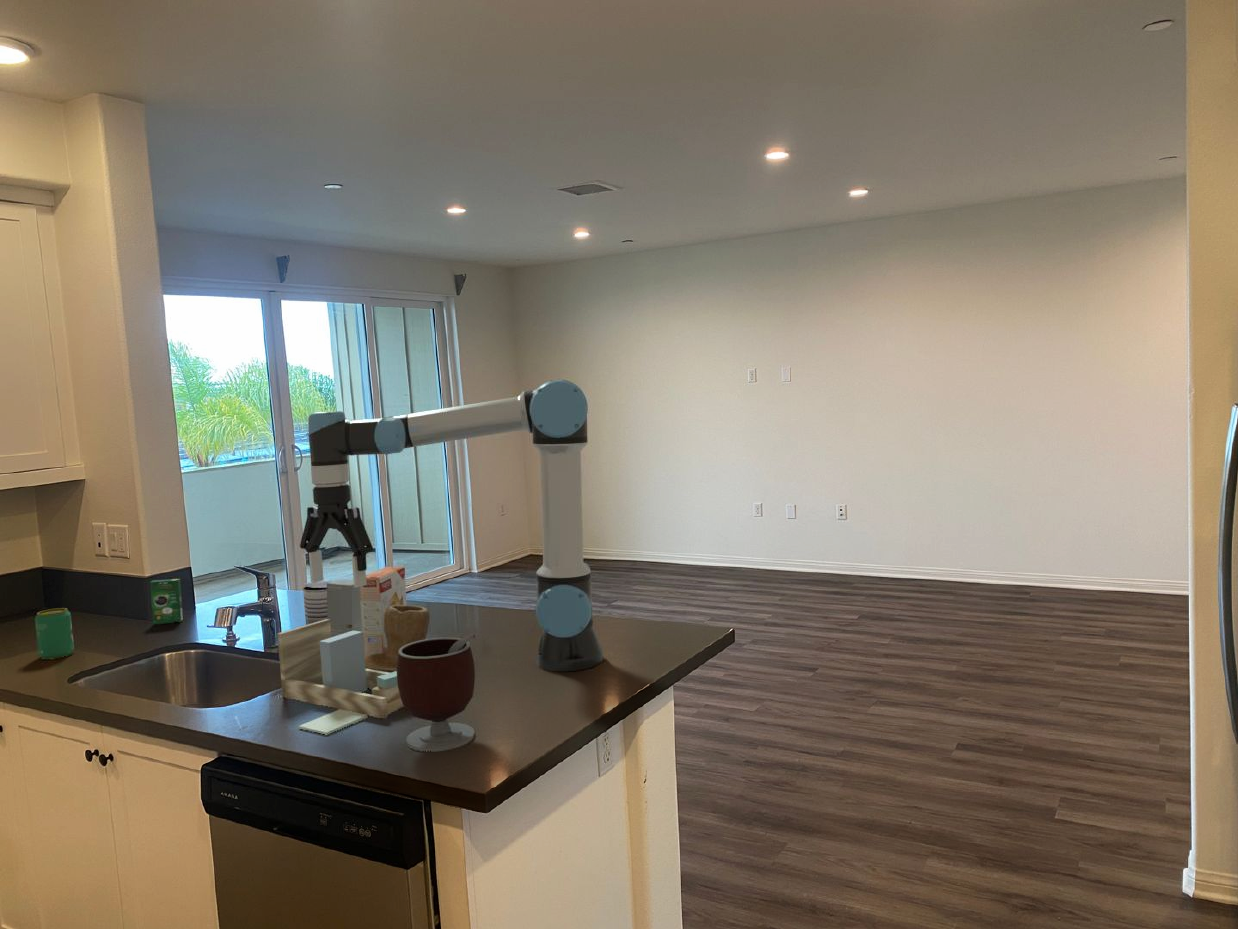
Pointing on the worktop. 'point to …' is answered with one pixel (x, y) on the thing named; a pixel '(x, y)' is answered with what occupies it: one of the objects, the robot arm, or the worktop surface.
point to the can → (315, 601)
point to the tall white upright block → (344, 662)
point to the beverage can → (54, 633)
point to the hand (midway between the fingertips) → (338, 583)
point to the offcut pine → (387, 693)
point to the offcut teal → (387, 680)
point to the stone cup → (399, 634)
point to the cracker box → (380, 605)
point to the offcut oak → (394, 705)
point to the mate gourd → (437, 690)
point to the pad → (333, 721)
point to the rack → (320, 673)
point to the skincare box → (343, 607)
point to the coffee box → (166, 601)
